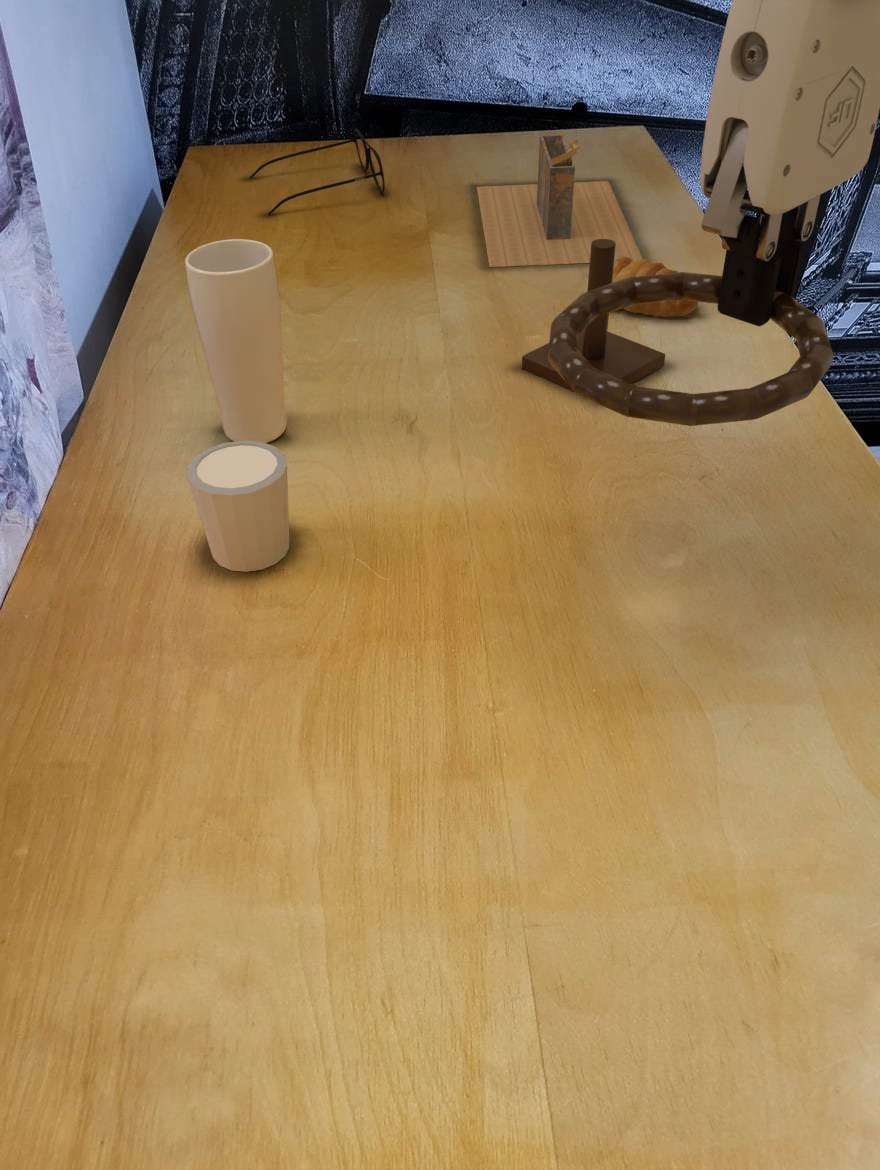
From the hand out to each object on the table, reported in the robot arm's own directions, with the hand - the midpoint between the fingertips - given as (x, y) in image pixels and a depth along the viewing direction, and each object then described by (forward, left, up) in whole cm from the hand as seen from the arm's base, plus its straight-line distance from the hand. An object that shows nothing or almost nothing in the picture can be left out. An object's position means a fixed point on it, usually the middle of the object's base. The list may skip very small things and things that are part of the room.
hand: (754, 309), depth 62 cm
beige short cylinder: (+23, -23, -18) cm, 37 cm away
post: (-15, -23, -17) cm, 32 cm away
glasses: (-28, -79, -18) cm, 86 cm away
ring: (+7, 0, 0) cm, 7 cm away
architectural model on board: (-39, -49, -18) cm, 65 cm away
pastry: (-29, -28, -18) cm, 44 cm away
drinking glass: (+13, -36, -18) cm, 42 cm away
